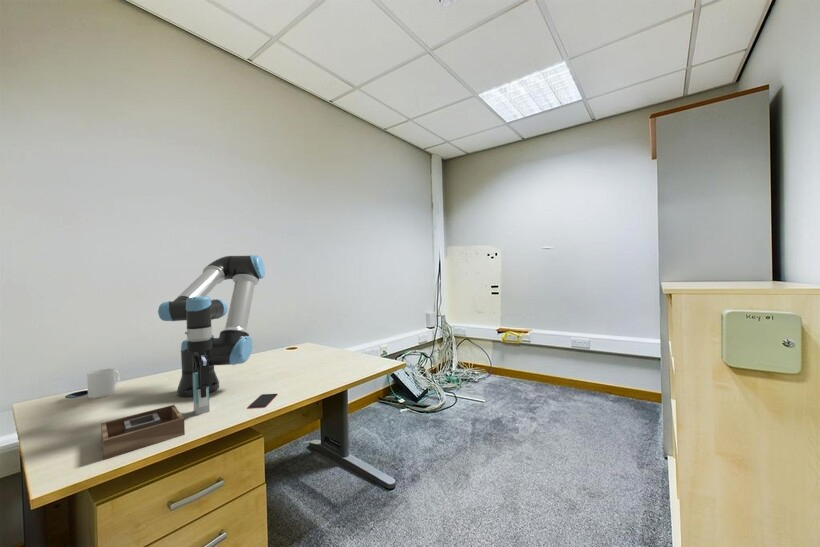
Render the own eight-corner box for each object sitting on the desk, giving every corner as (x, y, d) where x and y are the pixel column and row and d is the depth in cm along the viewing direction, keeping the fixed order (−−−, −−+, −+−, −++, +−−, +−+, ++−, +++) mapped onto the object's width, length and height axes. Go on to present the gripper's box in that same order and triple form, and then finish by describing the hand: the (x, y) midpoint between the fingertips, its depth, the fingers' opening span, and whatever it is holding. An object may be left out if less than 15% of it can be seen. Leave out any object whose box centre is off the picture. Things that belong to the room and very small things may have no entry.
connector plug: (193, 411, 116) (192, 373, 116) (206, 408, 119) (205, 370, 119) (196, 415, 113) (195, 375, 113) (209, 411, 116) (208, 372, 116)
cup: (82, 398, 133) (81, 374, 133) (110, 388, 145) (110, 366, 145) (101, 398, 132) (100, 374, 133) (128, 388, 144) (127, 365, 144)
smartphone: (278, 393, 132) (265, 407, 118) (278, 394, 132) (265, 408, 118) (261, 394, 131) (245, 408, 117) (261, 395, 131) (245, 409, 117)
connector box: (101, 439, 97) (101, 423, 97) (174, 419, 110) (174, 404, 110) (103, 459, 86) (103, 441, 86) (184, 434, 99) (184, 418, 99)
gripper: (181, 338, 119) (183, 401, 119) (192, 344, 107) (194, 414, 107) (205, 335, 125) (207, 395, 125) (218, 340, 113) (220, 407, 113)
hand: (201, 404), depth 116 cm, fingers closed on connector plug, 4 cm apart
